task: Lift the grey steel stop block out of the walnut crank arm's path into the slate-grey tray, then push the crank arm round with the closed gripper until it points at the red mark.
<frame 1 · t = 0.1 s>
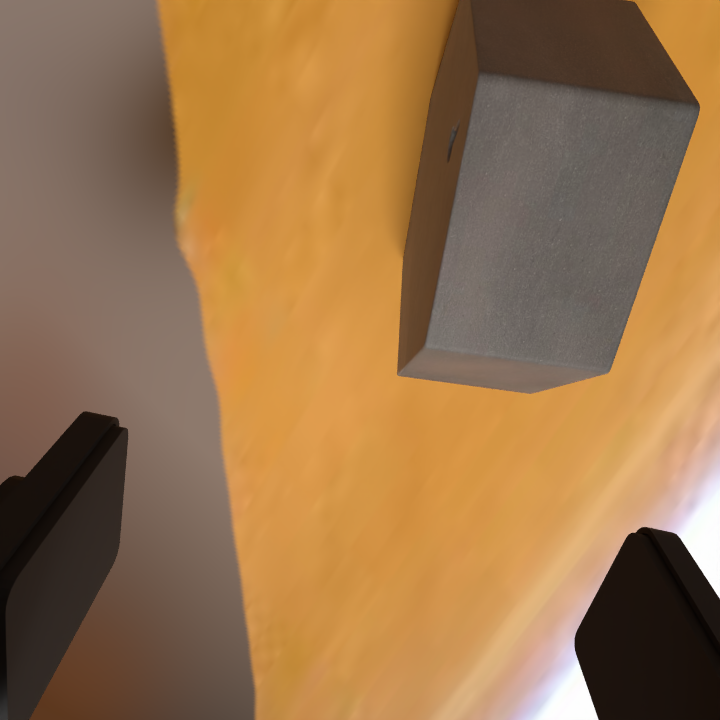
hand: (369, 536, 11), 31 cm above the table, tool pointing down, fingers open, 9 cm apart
planter: (477, 181, 39), on the table
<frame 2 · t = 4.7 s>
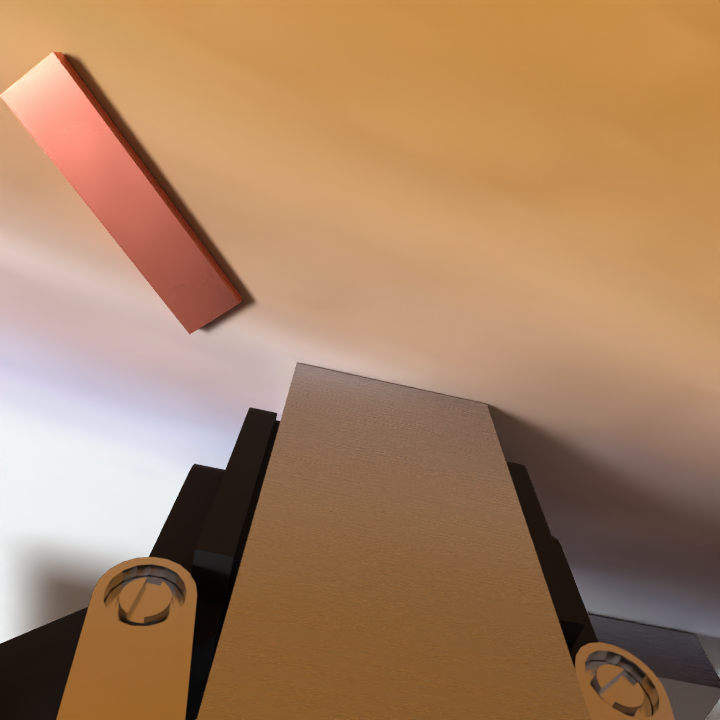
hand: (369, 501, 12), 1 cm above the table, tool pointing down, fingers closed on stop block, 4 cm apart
stop block: (370, 463, 13), on the table, touching gripper
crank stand: (513, 701, 16), on the table
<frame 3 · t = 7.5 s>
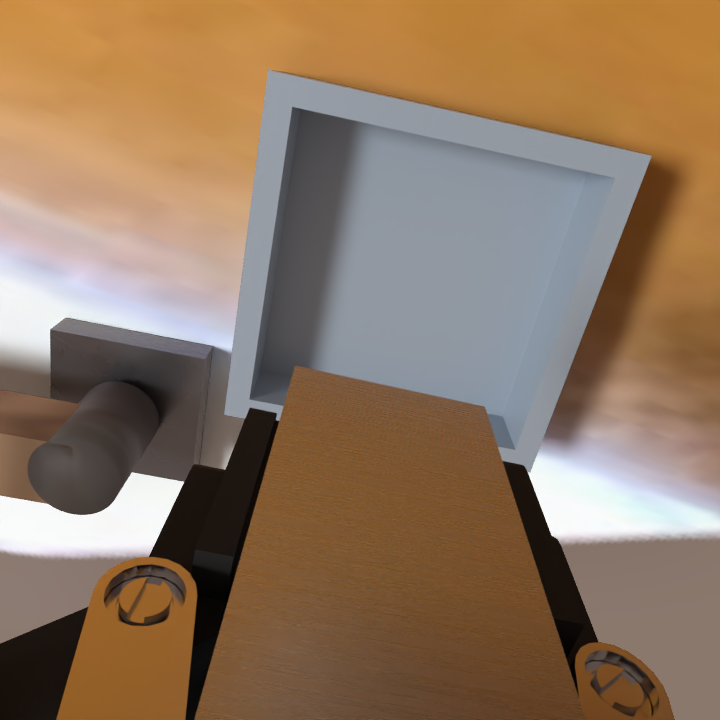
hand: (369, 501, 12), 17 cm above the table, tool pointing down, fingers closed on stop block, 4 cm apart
stop block: (368, 465, 13), point 16 cm above the table, touching gripper
tray: (411, 273, 28), on the table
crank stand: (135, 395, 31), on the table
when the fingers open (4 cm above the table, at t = 10.6 s): stop block drops 2 cm, resting on tray.
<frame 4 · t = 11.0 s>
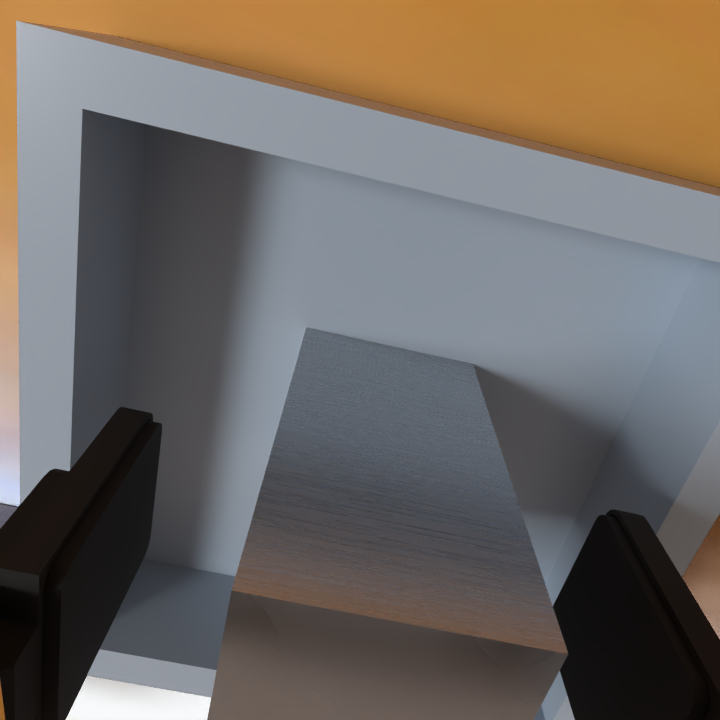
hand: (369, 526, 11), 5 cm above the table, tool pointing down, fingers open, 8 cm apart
stop block: (370, 417, 15), resting on tray
tray: (371, 407, 16), on the table
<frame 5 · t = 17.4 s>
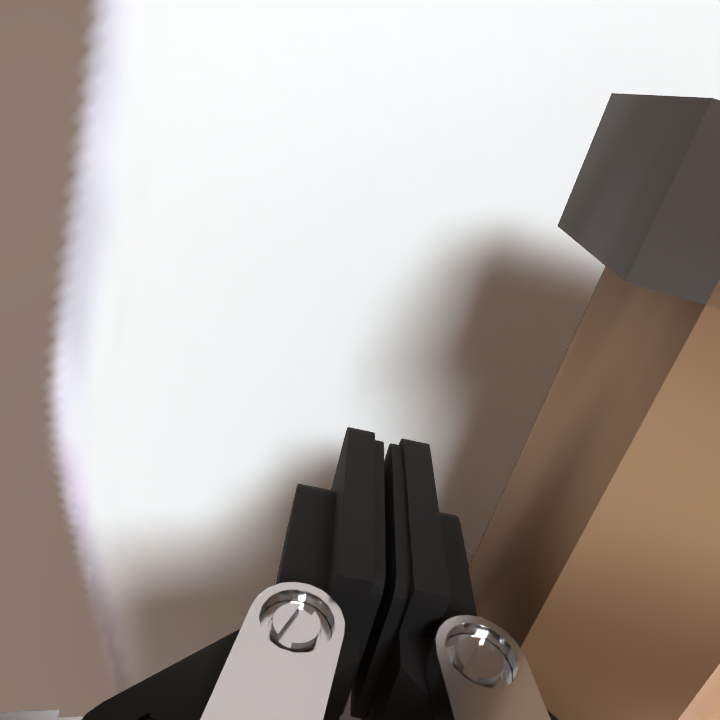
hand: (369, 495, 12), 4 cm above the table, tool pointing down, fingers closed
crank: (545, 597, 12), point 4 cm above the table, hinge at -2.0°, touching gripper
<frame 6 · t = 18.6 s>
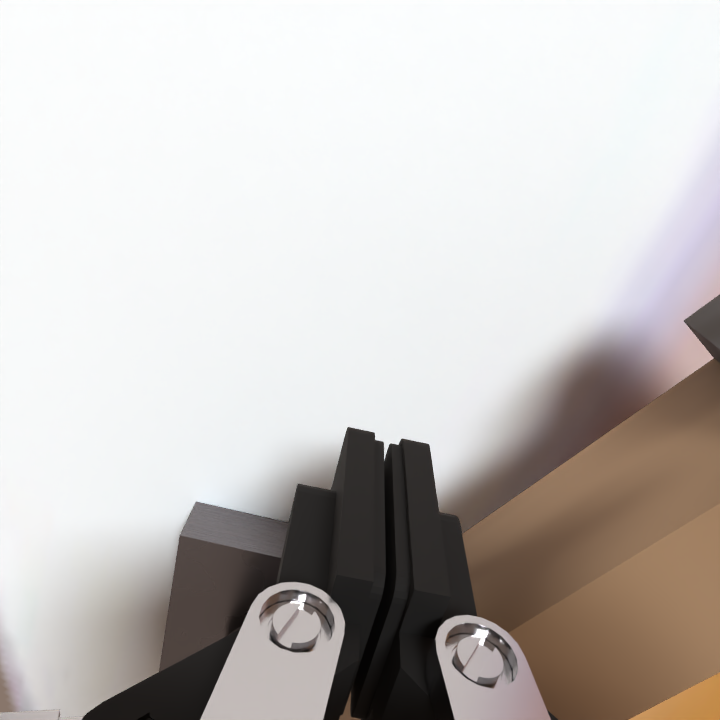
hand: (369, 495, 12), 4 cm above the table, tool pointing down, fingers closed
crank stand: (289, 612, 20), on the table
crank: (478, 611, 13), point 5 cm above the table, hinge at -32.3°, touching gripper
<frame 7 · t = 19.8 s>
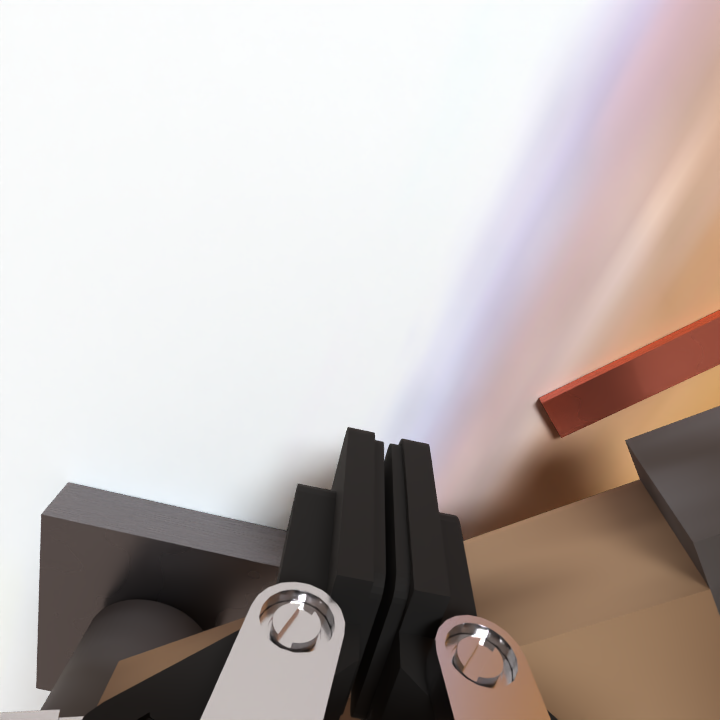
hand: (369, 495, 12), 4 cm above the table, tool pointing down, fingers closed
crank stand: (172, 595, 20), on the table
crank: (365, 647, 14), point 4 cm above the table, hinge at -50.3°, touching gripper
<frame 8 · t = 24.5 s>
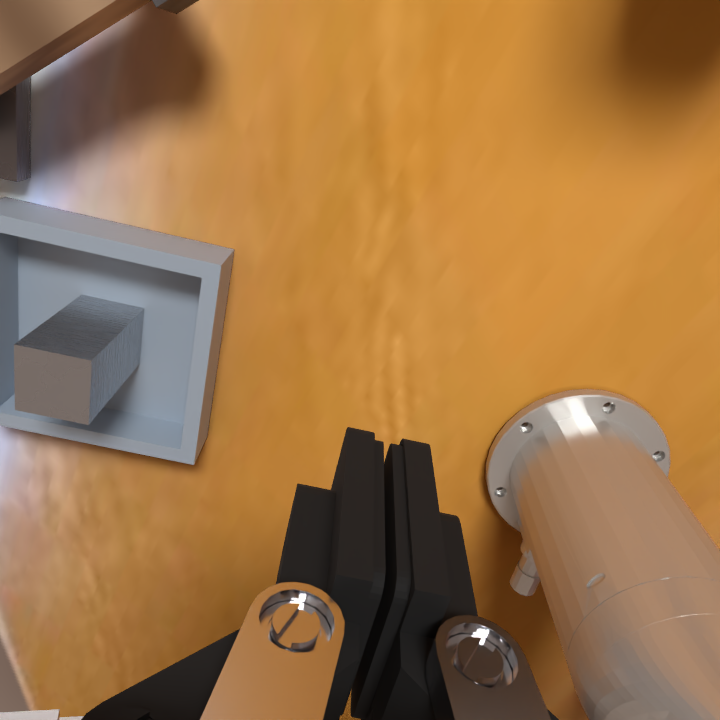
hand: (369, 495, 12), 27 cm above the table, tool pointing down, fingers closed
stop block: (111, 329, 40), resting on tray
tray: (114, 326, 40), on the table
crank: (24, 33, 29), point 5 cm above the table, hinge at -50.7°
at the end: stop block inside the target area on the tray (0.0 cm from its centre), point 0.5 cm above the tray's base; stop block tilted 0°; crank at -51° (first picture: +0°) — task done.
